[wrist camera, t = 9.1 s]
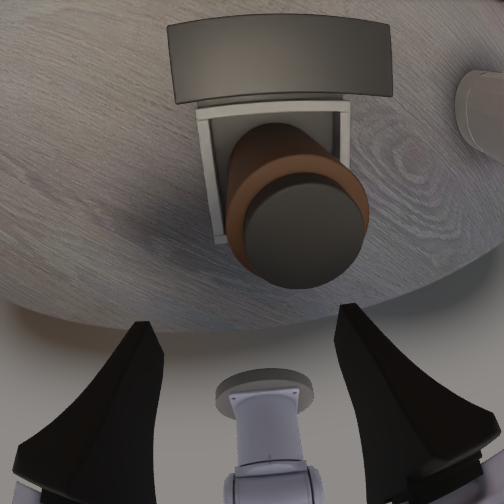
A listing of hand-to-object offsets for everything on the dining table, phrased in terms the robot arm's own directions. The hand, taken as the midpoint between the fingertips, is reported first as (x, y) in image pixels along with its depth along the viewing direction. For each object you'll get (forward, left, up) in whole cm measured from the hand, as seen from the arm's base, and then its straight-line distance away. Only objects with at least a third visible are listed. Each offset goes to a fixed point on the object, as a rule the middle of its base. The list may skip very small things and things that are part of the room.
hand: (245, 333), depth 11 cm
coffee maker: (+5, -2, -9) cm, 11 cm away
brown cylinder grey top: (+4, -2, -9) cm, 9 cm away
